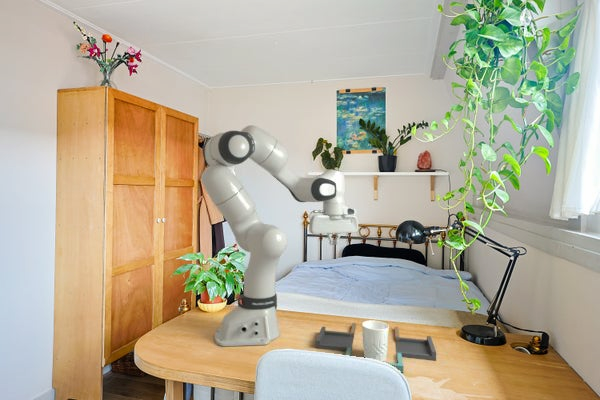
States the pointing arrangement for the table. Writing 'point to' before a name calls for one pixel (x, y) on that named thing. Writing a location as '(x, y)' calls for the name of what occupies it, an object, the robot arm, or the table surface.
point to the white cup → (375, 339)
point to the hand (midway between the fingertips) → (333, 244)
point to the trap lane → (403, 345)
